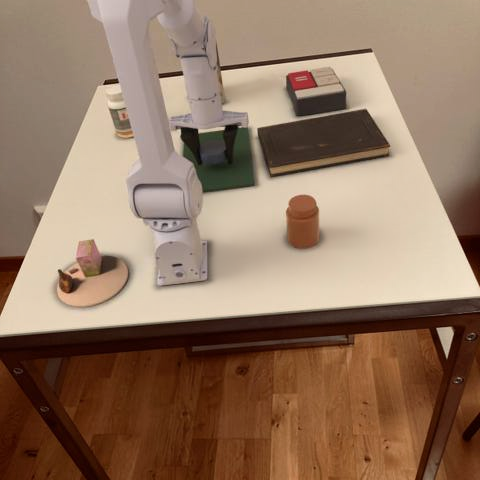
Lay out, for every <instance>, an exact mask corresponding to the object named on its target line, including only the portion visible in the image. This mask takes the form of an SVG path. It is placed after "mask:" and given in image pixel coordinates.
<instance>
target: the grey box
mask: <svg viewBox="0 0 480 480" xmlns="http://www.w3.org/2000/svg"><path fill="white" fill-rule="evenodd" d="M285 83H286V84H285V85H286V91H287V92H288V96H289V98H290V101H291V102H292V107H293V110H294V113H295V116H297V117H300V116H306V115H313V114H319V113H324V112H331V111H337V110H344V109H346V108H347V90H346V89H345V87H344V85H343V84H342V82H341V81H340V79H339V77H338V76H337V74H336V72H335V71H334V69H333V67H331V66H324V67H319V68H312V69H310V71H309V70H307V69H306V70H300V71H293V72H289V73H287V75H285Z"/></svg>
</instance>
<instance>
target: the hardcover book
mask: <svg viewBox="0 0 480 480" xmlns="http://www.w3.org/2000/svg"><path fill="white" fill-rule="evenodd" d="M256 130H257V139H258V141H259V144H260V147H261V151H262V154H263V158H264V161H265V164H266V167H267V171H268V174H269V177H270V178H274V177H279V176H285V175H291V174H296V173H302V172H308V171H314V170H318V169H324V168H330V167H335V166H341V165H347V164H353V163H358V162H365V161H369V160H376V159H381V158H386V157H387V158H388V157H390V153H389V148H391V144H390V143H389V142H388V140H387V138H386V137H385V135H384V134H383V132H382V130H381V129H380V128H379V126H378V125H377V122H376V121H375V119H374V118H373V117H372V115H371V113H370V112H369V111H368V108H362V109H356V110H355V109H354V110H350V111H344V112H339V113H333V114H328V115H322V116H316V117H310V118H305V119H300V120H294V121H288V122H281V123H276V124H272V125H266V126H261V127H257V128H256Z"/></svg>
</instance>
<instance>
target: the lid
mask: <svg viewBox="0 0 480 480" xmlns="http://www.w3.org/2000/svg"><path fill="white" fill-rule="evenodd" d="M199 154H200V159H201V160H202V162H204V163H207V164H217V163H220V162H223V161H224V160H226V159H227V150H226V145H225V142H224V141H220V140H213V141H208V142H206V143H204V144H202V145H201V146H200V148H199Z"/></svg>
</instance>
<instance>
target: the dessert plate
mask: <svg viewBox="0 0 480 480" xmlns="http://www.w3.org/2000/svg"><path fill="white" fill-rule="evenodd" d="M75 259H76V261H77V262H76V263H74V264H73V265H71V266H70V267H68V268H67V270H65V271H63V270H62V269H61V268H59V269H57V273H58V277H59V278H58V283H57V286H56V290H57V291H56V293H57V296H58V298H59V300H60V301H62V302H63V303H65V304H66V305H69V306H71V307H77V308H89V307H94V306H98V305H100V304H102V303H106V302H107V301H110V300H111V299H113V298H114V297H116V295H118V294H120V292H122V290H123V289H124V287H125V286H126V285H127V283H128V281H129V278H130V268H129V267H128V265H127V263H126V262H125V261H124V260H122V259H121V258H119V257H117V256H113V255H107V254H105V255H104V254H102V255H101V253H100V251H99V248H98V246H97V243H96V241H95V239H86V240H85V239H84V240H79V241H78V245H77V250H76V254H75Z"/></svg>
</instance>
